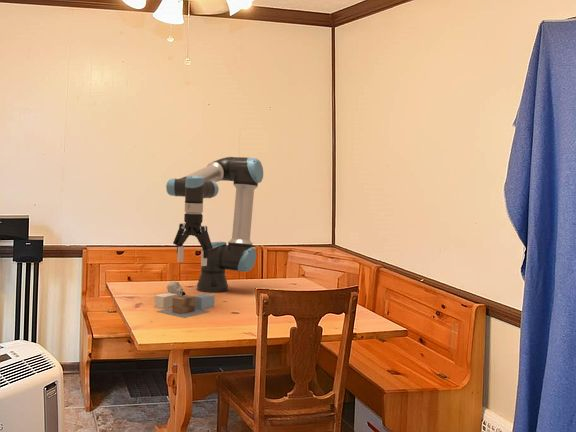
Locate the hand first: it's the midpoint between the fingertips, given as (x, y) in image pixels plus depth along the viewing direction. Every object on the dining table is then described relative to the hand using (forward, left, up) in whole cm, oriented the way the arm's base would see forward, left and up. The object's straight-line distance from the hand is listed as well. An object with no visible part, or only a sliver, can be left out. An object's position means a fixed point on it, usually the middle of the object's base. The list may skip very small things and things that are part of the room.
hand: (191, 263), depth 290 cm
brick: (+6, -8, -20) cm, 22 cm away
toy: (-6, -14, -20) cm, 25 cm away
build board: (+8, +4, -19) cm, 21 cm away
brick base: (+8, +4, -18) cm, 20 cm away
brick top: (-4, +4, -20) cm, 20 cm away
